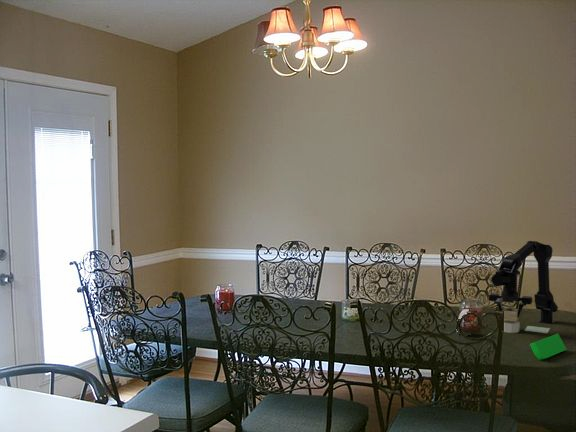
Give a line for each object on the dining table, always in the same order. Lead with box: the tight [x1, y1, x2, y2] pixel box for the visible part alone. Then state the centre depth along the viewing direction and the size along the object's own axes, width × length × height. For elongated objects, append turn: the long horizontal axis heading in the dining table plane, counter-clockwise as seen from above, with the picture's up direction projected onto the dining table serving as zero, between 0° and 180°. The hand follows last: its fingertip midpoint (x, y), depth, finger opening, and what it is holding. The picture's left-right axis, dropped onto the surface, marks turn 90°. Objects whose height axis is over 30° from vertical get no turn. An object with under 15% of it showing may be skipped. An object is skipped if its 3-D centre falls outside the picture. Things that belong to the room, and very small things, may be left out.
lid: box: [503, 307, 520, 321], centre depth 270 cm, size 7×7×5 cm
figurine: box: [456, 308, 469, 333], centre depth 265 cm, size 7×8×12 cm
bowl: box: [504, 320, 520, 334], centre depth 271 cm, size 8×8×4 cm
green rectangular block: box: [529, 333, 567, 361], centre depth 236 cm, size 20×10×7 cm, turn 130°
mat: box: [524, 325, 551, 334], centre depth 272 cm, size 10×10×1 cm
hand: (510, 316), depth 270 cm, fingers closed on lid, 7 cm apart
